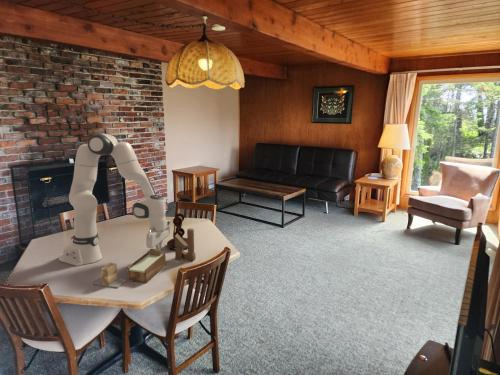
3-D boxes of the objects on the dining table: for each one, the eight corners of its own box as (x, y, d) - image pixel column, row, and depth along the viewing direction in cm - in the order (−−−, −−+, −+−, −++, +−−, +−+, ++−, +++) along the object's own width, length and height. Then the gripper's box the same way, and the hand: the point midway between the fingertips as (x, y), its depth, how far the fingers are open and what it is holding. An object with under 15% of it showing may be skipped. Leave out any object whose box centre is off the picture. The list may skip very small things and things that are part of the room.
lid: (129, 270, 169) (128, 263, 168) (150, 254, 188) (149, 247, 187) (144, 272, 167) (144, 265, 167) (163, 256, 186) (163, 249, 185)
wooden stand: (177, 256, 198) (176, 226, 194) (195, 258, 196) (195, 228, 192) (175, 259, 195) (174, 229, 190) (193, 261, 192) (192, 230, 188)
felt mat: (93, 284, 166) (93, 283, 166) (102, 277, 173) (102, 276, 173) (117, 288, 163) (117, 287, 163) (126, 281, 170) (126, 280, 170)
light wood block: (102, 284, 165) (100, 269, 163) (111, 277, 172) (110, 262, 170) (108, 285, 164) (107, 270, 162) (117, 278, 171) (116, 263, 169)
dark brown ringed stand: (170, 241, 220) (168, 211, 215) (193, 241, 220) (192, 211, 216) (164, 251, 206) (163, 218, 201) (189, 251, 206) (188, 219, 201)
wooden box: (128, 280, 171) (127, 267, 169) (149, 263, 190) (148, 251, 188) (146, 282, 168) (146, 270, 167) (165, 265, 187) (165, 253, 186)
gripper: (153, 232, 175) (154, 257, 179) (171, 219, 195) (172, 243, 198) (142, 231, 177) (143, 256, 180) (161, 218, 196) (162, 241, 199)
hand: (158, 249), depth 189 cm, fingers closed
